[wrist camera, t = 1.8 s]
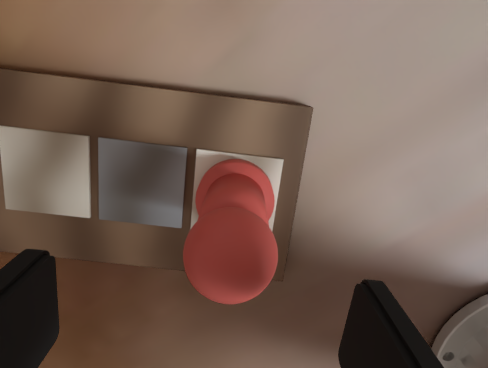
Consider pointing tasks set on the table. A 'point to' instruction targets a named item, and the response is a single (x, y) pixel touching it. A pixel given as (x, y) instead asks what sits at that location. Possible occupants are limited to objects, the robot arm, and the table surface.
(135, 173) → the board
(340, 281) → the table surface
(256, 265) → the pawn
